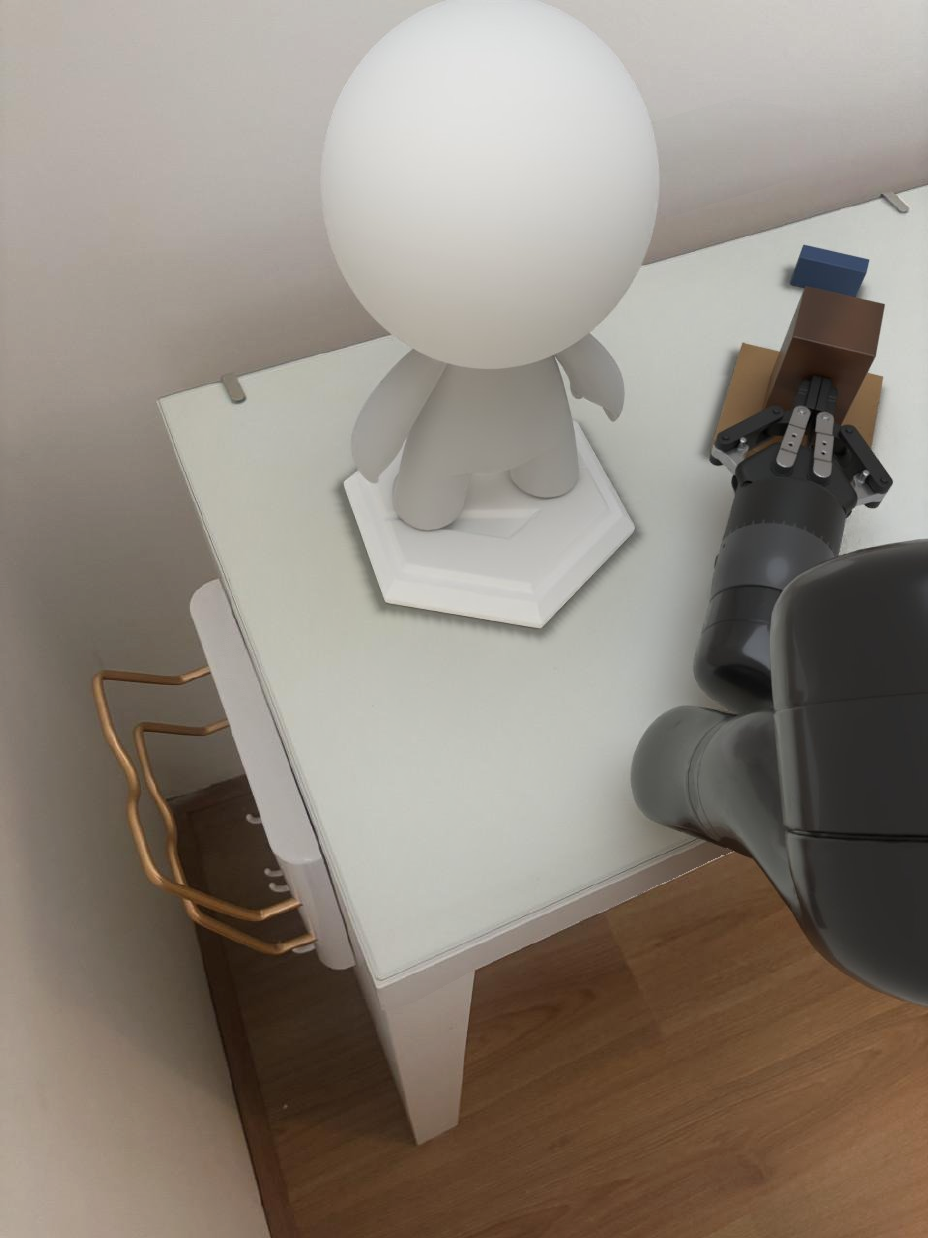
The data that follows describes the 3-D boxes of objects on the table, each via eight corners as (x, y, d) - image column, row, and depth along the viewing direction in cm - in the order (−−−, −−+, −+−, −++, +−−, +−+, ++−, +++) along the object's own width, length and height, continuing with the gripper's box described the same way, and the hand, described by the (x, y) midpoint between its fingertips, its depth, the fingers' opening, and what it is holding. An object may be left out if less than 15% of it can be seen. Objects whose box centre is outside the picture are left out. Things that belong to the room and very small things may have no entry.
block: (876, 389, 79) (930, 287, 70) (859, 491, 73) (915, 395, 64) (737, 355, 81) (772, 252, 72) (709, 452, 75) (743, 353, 66)
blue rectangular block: (857, 286, 86) (869, 258, 83) (854, 299, 85) (866, 272, 82) (793, 271, 87) (803, 243, 84) (789, 284, 86) (799, 256, 83)
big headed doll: (550, 380, 79) (605, -105, 49) (666, 591, 68) (828, 127, 38) (325, 436, 76) (238, -50, 46) (408, 668, 64) (362, 225, 34)
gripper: (900, 560, 57) (929, 370, 65) (691, 501, 59) (744, 324, 67) (855, 621, 63) (887, 441, 72) (668, 565, 66) (720, 397, 74)
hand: (818, 385), depth 69 cm, fingers closed
